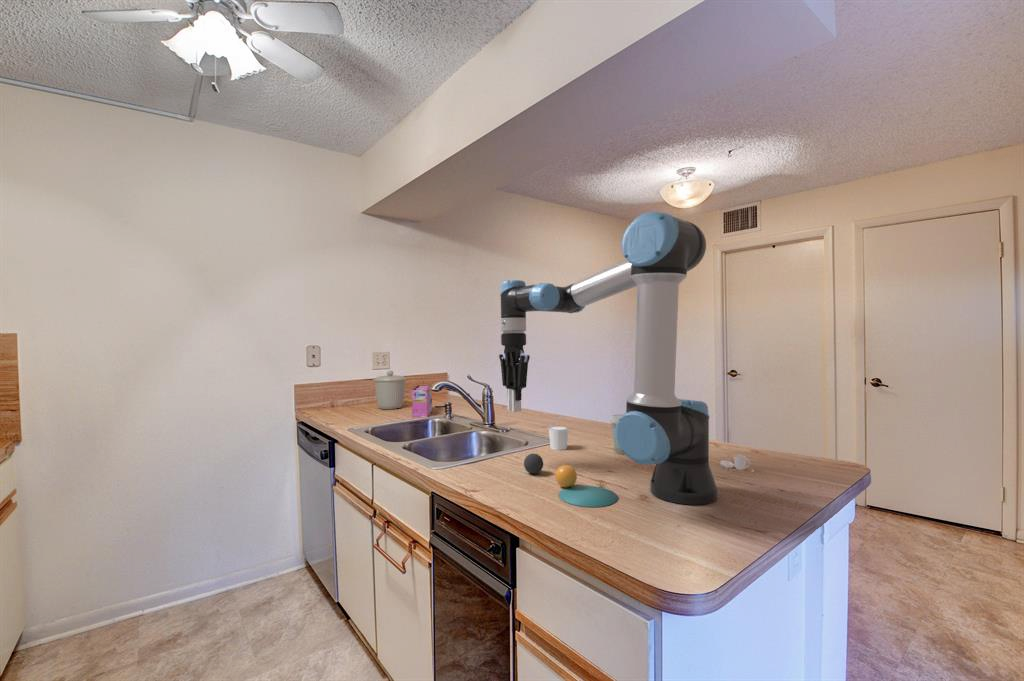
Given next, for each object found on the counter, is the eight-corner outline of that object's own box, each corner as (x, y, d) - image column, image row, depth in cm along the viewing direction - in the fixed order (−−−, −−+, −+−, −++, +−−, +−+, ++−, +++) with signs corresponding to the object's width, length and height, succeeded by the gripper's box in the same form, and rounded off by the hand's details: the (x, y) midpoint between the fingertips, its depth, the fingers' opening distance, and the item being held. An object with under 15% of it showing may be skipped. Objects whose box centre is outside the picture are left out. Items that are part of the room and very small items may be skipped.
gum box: (418, 409, 239) (417, 385, 239) (432, 409, 240) (432, 384, 239) (411, 417, 215) (411, 390, 215) (428, 417, 216) (427, 389, 216)
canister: (388, 411, 232) (388, 372, 232) (366, 409, 242) (366, 371, 242) (413, 407, 247) (413, 370, 247) (391, 404, 257) (391, 369, 257)
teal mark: (630, 498, 103) (630, 497, 103) (586, 512, 96) (586, 511, 96) (588, 482, 115) (588, 482, 115) (546, 493, 107) (546, 492, 107)
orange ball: (581, 487, 111) (581, 466, 111) (564, 492, 108) (564, 470, 108) (567, 482, 116) (567, 461, 116) (550, 486, 113) (550, 464, 113)
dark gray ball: (547, 474, 123) (547, 454, 123) (531, 477, 120) (531, 457, 120) (535, 469, 127) (535, 450, 127) (520, 472, 124) (519, 453, 124)
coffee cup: (633, 457, 140) (632, 419, 140) (607, 453, 144) (606, 417, 144) (640, 451, 147) (640, 415, 147) (615, 447, 151) (615, 413, 151)
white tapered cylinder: (567, 451, 148) (567, 430, 148) (547, 450, 149) (547, 429, 149) (569, 446, 155) (569, 426, 155) (549, 445, 156) (549, 425, 156)
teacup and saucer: (716, 467, 129) (715, 453, 129) (737, 464, 132) (737, 451, 132) (739, 476, 121) (739, 461, 121) (762, 473, 123) (762, 458, 123)
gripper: (490, 332, 136) (491, 408, 136) (517, 332, 123) (517, 415, 123) (510, 332, 140) (511, 406, 140) (538, 332, 127) (539, 412, 127)
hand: (514, 410), depth 132 cm, fingers closed
